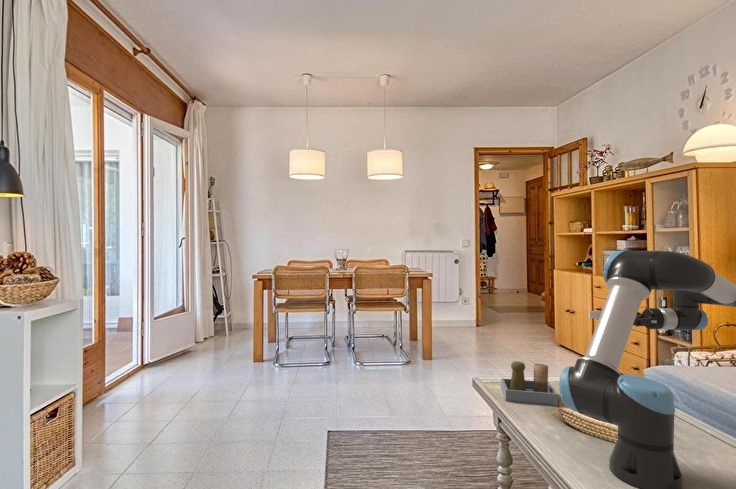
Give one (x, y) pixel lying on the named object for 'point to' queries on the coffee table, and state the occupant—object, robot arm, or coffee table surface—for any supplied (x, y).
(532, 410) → the coffee table surface
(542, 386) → the walnut cylinder
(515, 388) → the cork
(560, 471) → the coffee table surface
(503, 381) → the tote
